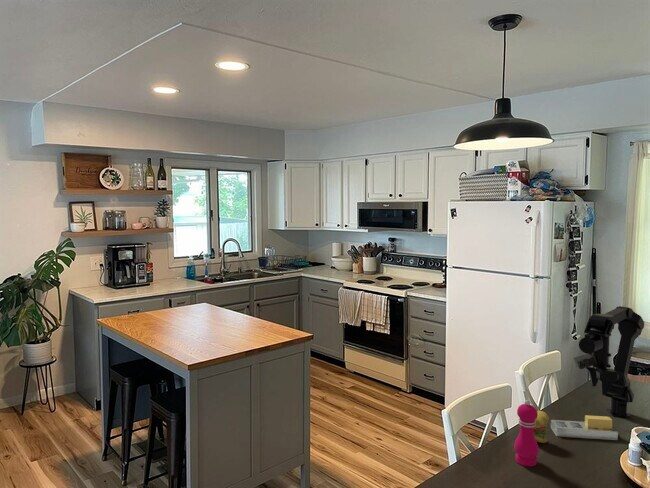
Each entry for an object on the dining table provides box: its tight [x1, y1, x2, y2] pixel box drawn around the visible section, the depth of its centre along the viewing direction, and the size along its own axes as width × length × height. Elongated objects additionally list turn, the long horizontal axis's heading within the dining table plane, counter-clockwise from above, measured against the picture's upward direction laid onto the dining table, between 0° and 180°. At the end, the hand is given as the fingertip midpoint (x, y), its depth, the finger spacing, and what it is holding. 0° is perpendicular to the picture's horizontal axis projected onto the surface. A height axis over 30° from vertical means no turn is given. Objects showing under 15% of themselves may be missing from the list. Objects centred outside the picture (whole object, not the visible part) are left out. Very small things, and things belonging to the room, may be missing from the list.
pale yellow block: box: [584, 414, 613, 430], centre depth 175 cm, size 8×3×6 cm, turn 81°
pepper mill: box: [513, 399, 540, 467], centre depth 156 cm, size 7×7×20 cm
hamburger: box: [534, 410, 550, 444], centre depth 170 cm, size 8×7×12 cm
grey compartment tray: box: [550, 419, 619, 441], centre depth 176 cm, size 20×7×3 cm, turn 81°
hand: (598, 390), depth 183 cm, fingers open, 9 cm apart
